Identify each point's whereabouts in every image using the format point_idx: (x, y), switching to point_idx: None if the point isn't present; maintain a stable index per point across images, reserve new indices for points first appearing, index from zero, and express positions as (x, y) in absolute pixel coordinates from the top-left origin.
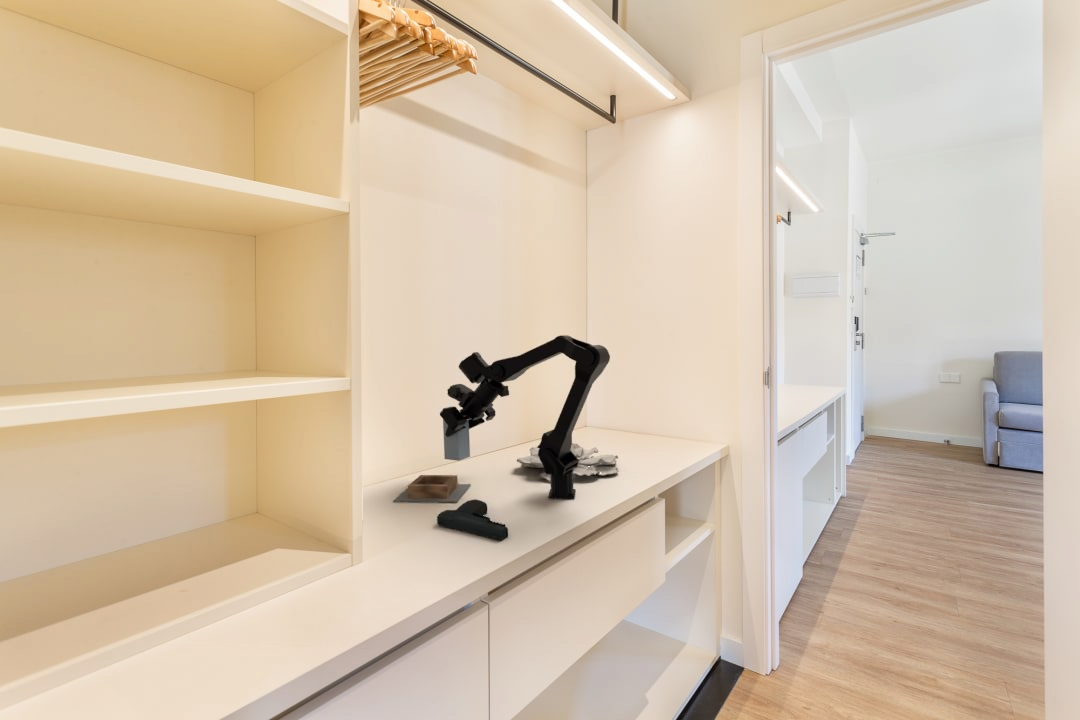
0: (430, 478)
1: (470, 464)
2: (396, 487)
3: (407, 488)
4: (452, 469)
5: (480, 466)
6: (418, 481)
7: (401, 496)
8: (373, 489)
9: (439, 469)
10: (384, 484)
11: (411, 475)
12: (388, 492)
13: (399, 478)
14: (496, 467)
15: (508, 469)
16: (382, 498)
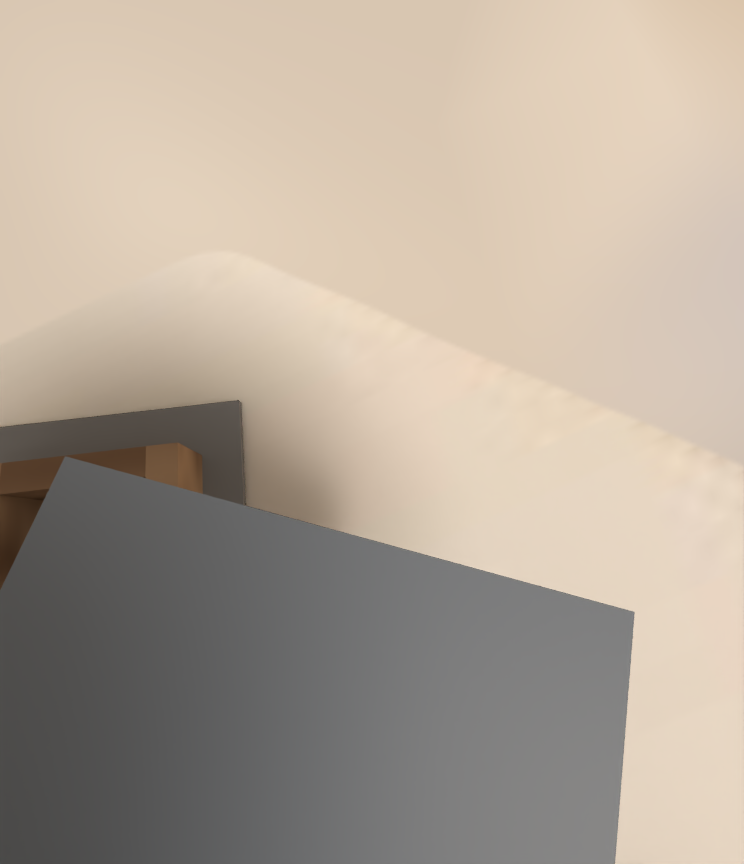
0: None
1: (656, 537)
2: (202, 347)
3: (162, 409)
4: (533, 476)
5: (636, 615)
6: (49, 487)
7: (42, 438)
8: (170, 273)
9: (516, 410)
10: (241, 281)
11: (389, 327)
12: (130, 349)
13: (335, 298)
14: (648, 734)
15: (629, 844)
16: (48, 364)
